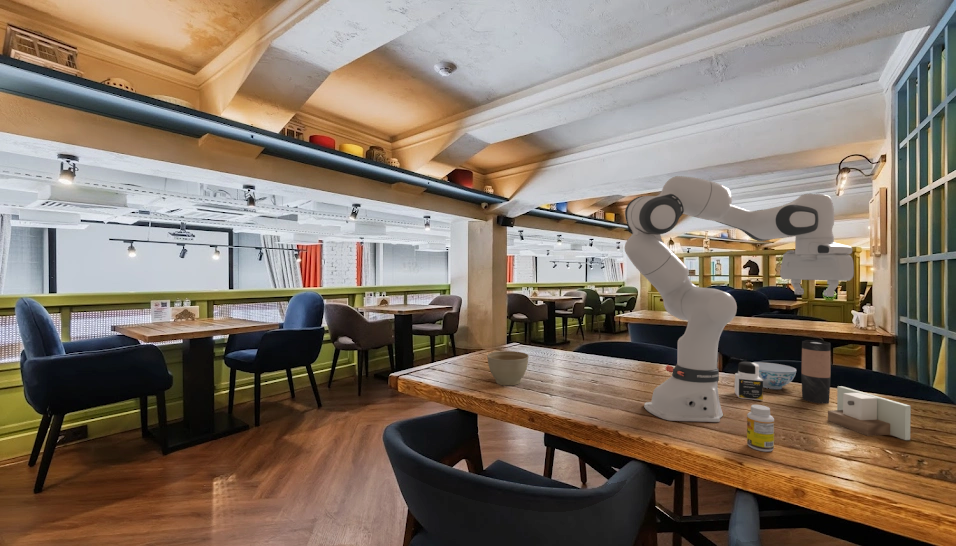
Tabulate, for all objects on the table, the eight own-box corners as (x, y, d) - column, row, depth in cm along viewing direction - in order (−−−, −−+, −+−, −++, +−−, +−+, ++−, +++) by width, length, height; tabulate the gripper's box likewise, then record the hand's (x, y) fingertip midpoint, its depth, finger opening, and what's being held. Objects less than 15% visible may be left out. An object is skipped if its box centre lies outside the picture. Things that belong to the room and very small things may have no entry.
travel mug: (835, 404, 135) (836, 344, 135) (809, 403, 136) (809, 343, 136) (821, 397, 142) (821, 340, 142) (796, 396, 144) (797, 339, 144)
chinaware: (748, 379, 166) (748, 360, 165) (795, 385, 157) (795, 365, 157) (746, 388, 153) (746, 367, 153) (797, 395, 145) (797, 373, 144)
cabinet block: (858, 420, 112) (859, 398, 112) (840, 414, 117) (840, 393, 117) (877, 419, 113) (877, 398, 113) (858, 413, 118) (858, 392, 118)
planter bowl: (489, 376, 169) (489, 350, 168) (528, 378, 166) (528, 351, 166) (484, 387, 153) (484, 358, 152) (528, 389, 150) (528, 360, 150)
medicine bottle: (738, 398, 141) (739, 363, 141) (734, 392, 148) (734, 359, 148) (763, 401, 138) (763, 365, 138) (757, 395, 145) (758, 361, 145)
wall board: (905, 440, 107) (905, 405, 107) (837, 415, 125) (837, 386, 125) (910, 439, 107) (910, 405, 107) (841, 415, 125) (841, 386, 125)
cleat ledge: (867, 435, 109) (867, 424, 109) (827, 420, 120) (827, 410, 120) (890, 434, 110) (890, 423, 110) (848, 419, 121) (848, 409, 121)
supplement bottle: (748, 441, 106) (748, 401, 106) (774, 447, 102) (775, 406, 102) (745, 448, 102) (745, 407, 101) (772, 454, 98) (773, 412, 98)
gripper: (774, 250, 131) (774, 293, 131) (838, 246, 111) (837, 297, 111) (792, 250, 132) (792, 293, 132) (858, 247, 111) (858, 297, 111)
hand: (813, 295), depth 121 cm, fingers open, 8 cm apart
